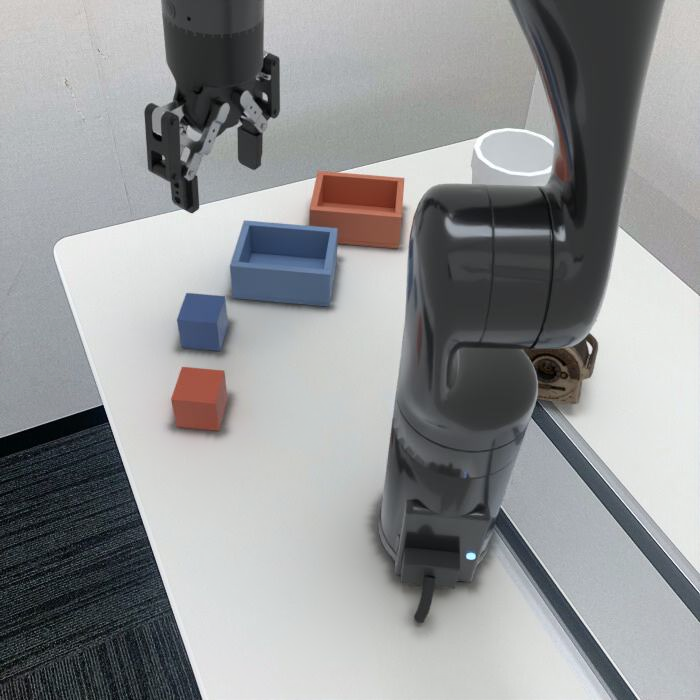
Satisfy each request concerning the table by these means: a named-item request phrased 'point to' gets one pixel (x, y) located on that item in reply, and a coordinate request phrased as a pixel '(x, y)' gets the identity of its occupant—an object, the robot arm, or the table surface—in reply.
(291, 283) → the blue bin
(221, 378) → the terracotta block
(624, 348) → the table surface
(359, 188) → the terracotta bin
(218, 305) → the slate block
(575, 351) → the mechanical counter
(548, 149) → the foam cup
